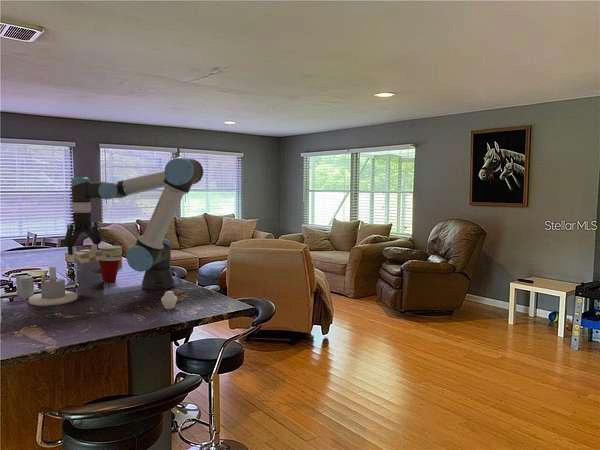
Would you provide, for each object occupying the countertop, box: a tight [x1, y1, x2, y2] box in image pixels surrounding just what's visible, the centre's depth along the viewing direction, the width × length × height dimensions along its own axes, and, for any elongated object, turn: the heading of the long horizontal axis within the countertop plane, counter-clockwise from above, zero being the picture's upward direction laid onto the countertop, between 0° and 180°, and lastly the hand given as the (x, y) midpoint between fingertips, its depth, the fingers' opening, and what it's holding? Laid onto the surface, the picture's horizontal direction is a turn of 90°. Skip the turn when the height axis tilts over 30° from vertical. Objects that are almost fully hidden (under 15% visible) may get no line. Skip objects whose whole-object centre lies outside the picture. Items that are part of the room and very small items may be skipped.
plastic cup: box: [98, 257, 121, 284], centre depth 222 cm, size 11×11×12 cm
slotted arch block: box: [64, 249, 103, 264], centre depth 203 cm, size 11×11×4 cm
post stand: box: [27, 265, 78, 307], centre depth 186 cm, size 18×18×14 cm
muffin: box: [160, 290, 178, 310], centre depth 178 cm, size 6×6×7 cm
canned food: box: [100, 245, 123, 270], centre depth 258 cm, size 11×11×12 cm
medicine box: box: [15, 274, 35, 300], centre depth 191 cm, size 8×4×9 cm, turn 47°
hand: (84, 259), depth 204 cm, fingers closed on slotted arch block, 11 cm apart
